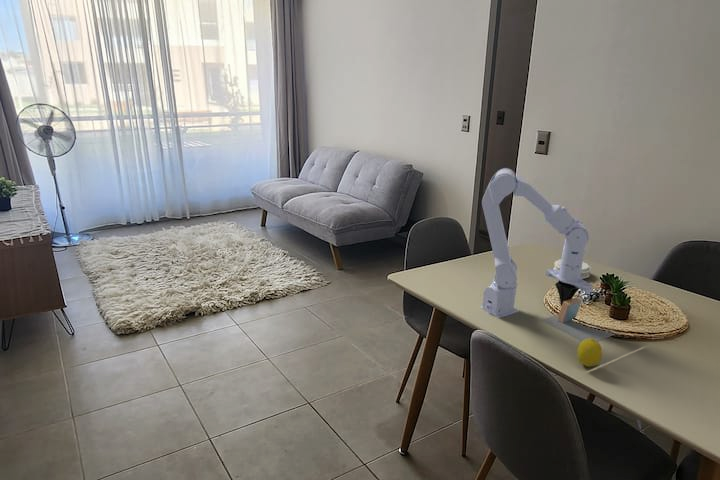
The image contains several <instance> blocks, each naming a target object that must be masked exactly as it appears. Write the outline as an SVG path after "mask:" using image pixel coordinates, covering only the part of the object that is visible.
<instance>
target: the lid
mask: <svg viewBox="0 0 720 480" xmlns="http://www.w3.org/2000/svg"><path fill="white" fill-rule="evenodd" d="M561 259H562V258H559V259H558V260H555V261H554V262H553V265H554V267H553V268H552V269H553V270H556V271H560V265H561ZM590 272H591V266H590V265H589V264H588V263H587V262H584V261H583V263H582V269H581V275H580V278H581V279H582V280H584V279H587V278H589V277H591V273H590Z"/></svg>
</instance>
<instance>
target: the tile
mask: <svg viewBox="0 0 720 480" xmlns="http://www.w3.org/2000/svg"><path fill="white" fill-rule="evenodd" d="M581 304H582V299H580V298H579V297H577V296H576V297H572V299H570V300H567V301H564V302H563V304H562V306H560V307H561V308H560V310H559V313H558V314H559V316H558V319H557V320H558V321H560V322H561V323H564V322H567V321H570V320H572V319H573V318H575V317H576V315H577V316H578V313H579V309H580V306H581Z"/></svg>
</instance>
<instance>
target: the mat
mask: <svg viewBox="0 0 720 480" xmlns="http://www.w3.org/2000/svg"><path fill="white" fill-rule="evenodd" d="M558 316H559V313H558V314H555V315H551V316H549V317H546V318H542V319H541V321H542V322H544V323H546V324H548V325H550V326H551V327H553V328H555V329H557V330H559V331H561V332H563V333H564V334H566V335H568V336H570V337H572V338H574V339H577V340H578V341H580V342H582V341H583V340H585V339H591V338H593V339H594V340H596V341H597V342H598V343H599V342H600V341H602V340H605V339H607V338H609V337H612V336H614V335H616V333H614V334H612V333H613V332H612V333H608V332H605V331H602V330H598V329H594V328H590V327H586V326H583V325H580V324H578V323H576V322H573V321H572V320H570V321H567V322H564V323H561V322H560V321H558V320H557V319H558Z"/></svg>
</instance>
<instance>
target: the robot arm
mask: <svg viewBox="0 0 720 480" xmlns="http://www.w3.org/2000/svg"><path fill="white" fill-rule="evenodd" d="M512 193H513V194H512ZM510 194H512V196H514V197H523V198H525V199H526V200H527V201H528V202H529V203H531V204H532V205H533V206H534V207H535V208H537V209H538V210H540V212H541V213H543V219H544V221H545V222H547V224H549V225H550V226H551V227H552V228H553V229H554V230H555V231H557V232H558V233H559V234H560V235H563V236H564V237H565V238H564V243H563V244H564V245H563V248H562V253H561V258H560V259H561V265H560V271H556V270H553V268H549V269H546V273H545V276H546V277H552V278H553V279H555V280H558V282H556V283H555V284H554V286H555V288H556V290H557V293H558V295H559V297H558V298H559V302H560V303H559V305H560V307H562V304H563V302H564V301H567V300H570V299H573V298H574V296H575V294H576V293H577V292H578V291H579V290H582V291H584V292H585V293H586V294H590V293H592V292H594V291H593V290H594V285H592V284H591V283H589V282H587V281H586V280H584V279H581V278H580V275H581V269H582V263H583V262H584V257H585V250H586V249H585V248H586V245H587V244H588V243H589V240H590V237H589V232H588V231H587V227H586V226H585V225H584V224H583V222H581V221H580V219H578V218H575V217H574V216H573V215H571V214H570V213H569V211H568V208H567V207H565V206H562V205H560V204H552V203H550V202H549V200H548V199H547V198H546V197H544V196H543V194H541V193H540V192H539V191H538V190H537V189H536V188H534V186H532V185H531V184H530V182H528V181H527V180H526V179H525V178H523V177H522V176H521V175H519V174H516V173H515V171H514V170H512V169H511V168H507V167H504V168H501V169H499V170H497V171H496V172H495V173H494V175H493V176H492V177H491V179H490V180H489V183H488V185H487V187H486V189H485V192H484V195H483V197H482V200H481V206H482V211H483V214H484V220H485V223H486V228H487V232H488V236H489V240H490V245H491V248H492V253H493V258H494V267H495V274H494V278H493V279H492V283H491V284H490V285H489V286H487V287H486V288H485V289H484V291H483V298H482V305H481V306H480V309H482V310H483V311H485V312H487V313H489V314H491V315H492V316H494V317H495V318H498V319H499V318H500V319H501V318H503V317H505V316H510V315H513V314H516V313H519V312H520V311H521V310H520V309H518V308H517V307H515V304H516V295H517V288H518V287H517V286H518V282H517V279H518V277H517V269H518V266H517V264H516V263H515V261H513V258H512V254H511V252H510V249H509V245H508V240H507V235H506V231H505V226H504V222H503V218H502V212H501V208H500V204H501V202H502V201H503V200H504V198H506V197H507V196H509V195H510Z"/></svg>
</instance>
